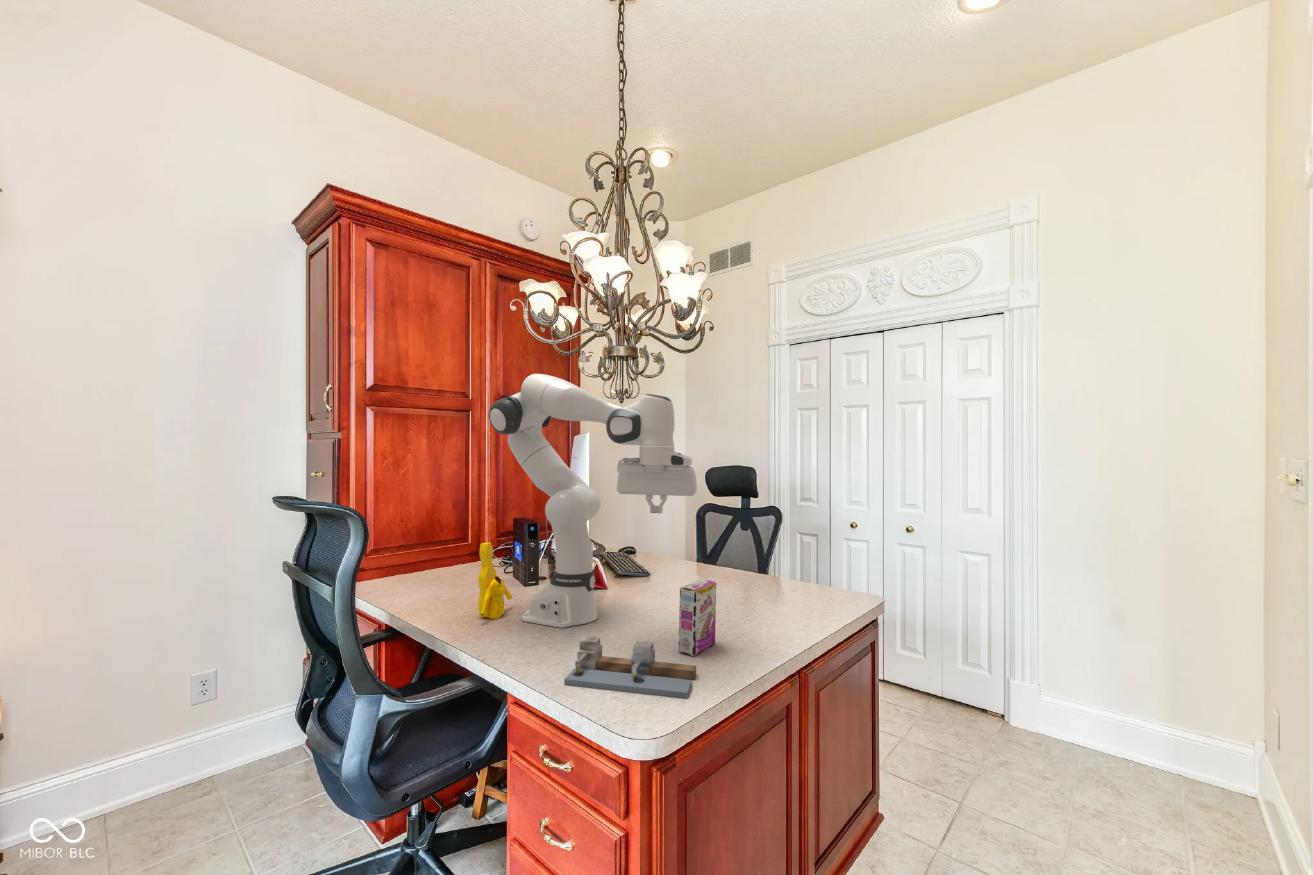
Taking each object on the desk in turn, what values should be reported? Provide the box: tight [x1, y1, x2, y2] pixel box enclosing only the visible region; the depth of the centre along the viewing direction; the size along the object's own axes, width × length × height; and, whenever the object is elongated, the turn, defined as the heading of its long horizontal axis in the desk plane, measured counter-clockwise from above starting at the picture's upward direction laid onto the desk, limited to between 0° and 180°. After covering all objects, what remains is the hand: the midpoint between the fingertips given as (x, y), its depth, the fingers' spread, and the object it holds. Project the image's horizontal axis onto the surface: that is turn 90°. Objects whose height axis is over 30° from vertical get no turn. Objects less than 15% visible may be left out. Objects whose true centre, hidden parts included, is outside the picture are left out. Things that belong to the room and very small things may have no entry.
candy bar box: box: [678, 579, 717, 657], centre depth 137 cm, size 11×5×16 cm, turn 146°
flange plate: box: [563, 667, 693, 700], centre depth 116 cm, size 27×6×1 cm, turn 77°
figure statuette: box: [477, 542, 514, 620], centre depth 163 cm, size 18×8×22 cm, turn 167°
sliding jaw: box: [630, 640, 656, 680], centre depth 120 cm, size 4×11×6 cm, turn 167°
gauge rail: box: [574, 635, 697, 681], centre depth 121 cm, size 27×11×6 cm, turn 77°
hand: (656, 512), depth 135 cm, fingers closed
